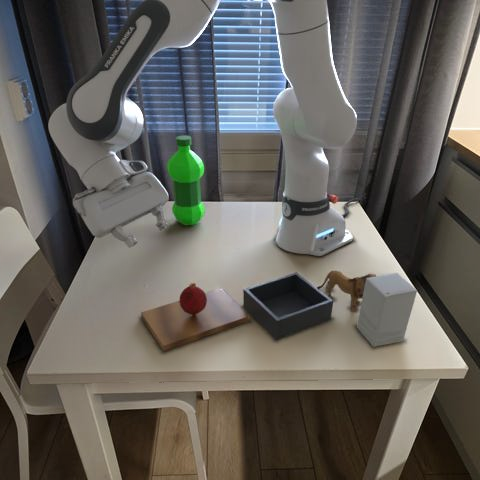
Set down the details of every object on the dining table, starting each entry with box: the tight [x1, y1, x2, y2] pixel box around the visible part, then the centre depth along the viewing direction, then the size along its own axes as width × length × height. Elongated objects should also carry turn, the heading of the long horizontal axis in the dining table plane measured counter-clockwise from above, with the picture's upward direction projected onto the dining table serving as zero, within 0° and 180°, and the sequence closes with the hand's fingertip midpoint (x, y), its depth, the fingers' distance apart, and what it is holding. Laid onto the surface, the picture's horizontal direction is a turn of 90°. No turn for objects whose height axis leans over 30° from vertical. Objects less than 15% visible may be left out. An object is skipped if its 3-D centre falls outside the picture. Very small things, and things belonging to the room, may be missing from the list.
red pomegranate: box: [179, 282, 207, 315], centre depth 96 cm, size 6×6×8 cm
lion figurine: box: [316, 269, 377, 312], centre depth 103 cm, size 15×5×9 cm, turn 54°
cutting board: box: [140, 287, 250, 352], centre depth 99 cm, size 20×13×2 cm, turn 120°
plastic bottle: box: [166, 135, 206, 226], centre depth 131 cm, size 10×10×25 cm
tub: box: [242, 271, 334, 341], centre depth 100 cm, size 15×14×5 cm
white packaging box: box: [356, 272, 418, 348], centre depth 92 cm, size 7×7×13 cm
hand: (149, 236), depth 94 cm, fingers open, 8 cm apart
